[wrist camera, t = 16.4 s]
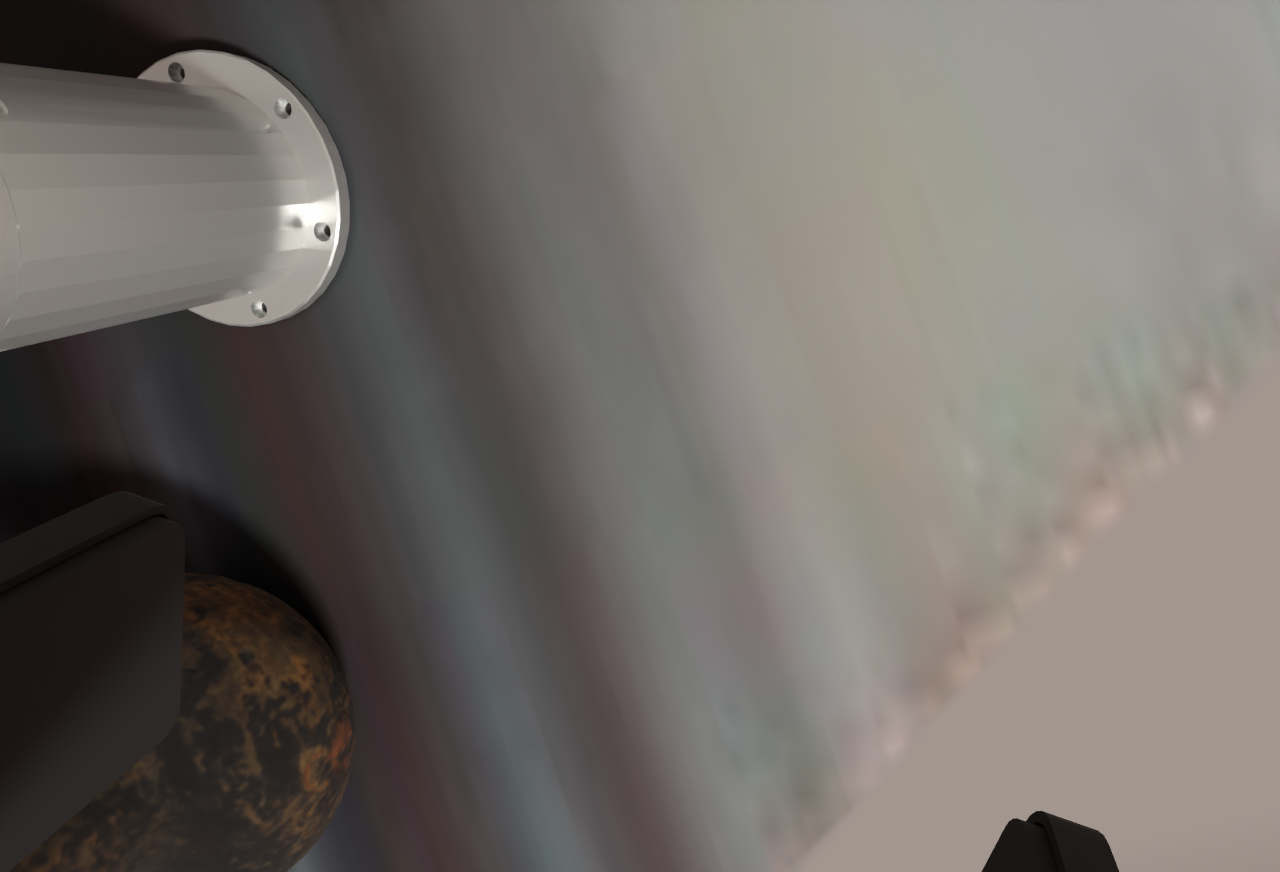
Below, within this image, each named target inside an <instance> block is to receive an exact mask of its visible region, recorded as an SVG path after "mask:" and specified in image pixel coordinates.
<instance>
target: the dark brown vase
mask: <svg viewBox="0 0 1280 872" xmlns="http://www.w3.org/2000/svg"><path fill="white" fill-rule="evenodd" d="M354 721H355V717H354V711H353V708H352V703H351V699H350V694H349V690H348V686H347V683H346V680H345V677H344V675H343V672H342V670H341V668H340V665H339V663H338V661H337V659H336V658H335V655H334V654H333V652H332V651H331V649H330V647H329V646H328V644H327V643H326V642H325V640H324V639H323V638H322V636H321V635H320V634H319V633H318V632H317V630H316V629H315V628H314V627H313V626H312V625H311V624H310V623H309V622H308V621H307V620H306V619H305V618H304V617H303V616H302V615H301V614H299V613H298V612H297V611H296V610H294V609H293V608H292V607H290V606H289V605H287V604H286V603H285V602H283V601H281V600H280V599H279V598H277V597H276V596H274V595H273V594H270V593H268V592H266V591H264V590H262V589H261V588H259V587H255V586H252V585H249V584H247V583H243V582H240V581H237V580H233V579H230V578H225V577H223V576H215V575H208V574H198V573H184V603H183V633H182V663H181V693H180V710H179V715H178V717H177V720H176V722H175V724H174V726H173V728H172V729H171V731H170V732H169V734H168V735H167V736H166V737H165V738H164V739H163V740H162V741H161V742H160V743H159V744H158V745H157V746H156V747H154V748H153V749H152V750H151V751H150V752H149V753H147V754H146V755H145V756H144V757H143V758H142V759H140V760H139V761H138V762H137V763H136V764H134V765H133V766H132V767H131V768H130V769H129V770H127V771H126V772H125V773H124V774H123V775H122V776H120V777H119V778H118V779H117V780H116V781H115V782H113V783H112V784H111V785H110V786H109V787H107V788H106V789H105V790H104V791H103V792H102V793H100V794H99V795H98V796H97V797H96V798H95V799H93V800H92V801H91V802H90V803H89V804H88V805H86V806H85V807H84V808H83V809H82V810H80V811H79V812H78V813H77V814H76V815H75V816H73V817H72V818H71V819H70V820H69V821H68V822H66V823H65V824H64V825H63V826H62V827H60V828H59V829H58V830H57V831H56V832H55V833H53V834H52V835H51V836H50V837H49V838H48V839H46V840H45V841H44V842H43V843H42V844H41V845H39V846H38V847H37V848H36V849H35V850H33V851H32V852H31V853H30V854H29V855H28V856H26V857H25V858H24V859H23V860H22V861H21V862H19V863H18V864H17V865H16V866H15V867H14V868H12V869H11V870H10V871H9V872H286V871H288V870H289V869H290V868H291V867H293V866H294V865H295V864H296V863H297V862H298V861H299V860H300V859H301V858H302V857H303V856H304V855H306V854H307V853H308V851H309V850H310V849H311V848H312V847H313V846H314V844H315V843H316V842H317V841H318V839H319V838H320V837H321V835H322V834H323V833H324V831H325V830H326V829H327V827H328V825H329V824H330V822H331V820H332V819H333V817H334V815H335V813H336V811H337V809H338V807H339V804H340V802H341V800H342V798H343V795H344V792H345V790H346V787H347V784H348V781H349V776H350V772H351V767H352V762H353V754H354V746H355V727H354Z"/></svg>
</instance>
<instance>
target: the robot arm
mask: <svg viewBox="0 0 1280 872" xmlns="http://www.w3.org/2000/svg"><path fill="white" fill-rule="evenodd" d="M291 110H292V111H291ZM349 217H350V201H349V194H348V187H347V180H346V175H345V172H344V169H343V165H342V162H341V159H340V156H339V152H338V149H337V147H336V145H335V143H334V141H333V139H332V137H331V135H330V133H329V131H328V129H327V127H326V125H325V123H324V122H323V121H322V119H321V118H320V116H319V115H318V113H317V112H316V111H315V109H314V108H313V106H312V105H311V103H310V102H309V101H308V100H307V99H306V98H305V97H304V96H303V95H302V94H301V93H300V92H299V91H298V90H297V89H296V88H295V87H294V86H293V85H292V84H291V83H290V82H289V81H288V80H286V79H285V78H283V77H282V76H281V75H279V74H278V73H276V72H275V71H274V70H272V69H271V68H269V67H267V66H265V65H263V64H261V63H258V62H256V61H254V60H252V59H250V58H247V57H244V56H240V55H235V54H231V53H226V52H221V51H210V50H200V49H198V50H192V51H185V52H178V53H175V54H173V55H170V56H168V57H166V58H163V59H161V60H159V61H156V62H155V63H154V64H153V65H151V66H150V67H149V68H147V69H146V70H145V71H143V72H142V73H141V74H140V75H139V76H138V77H137V78H129V77H120V76H111V75H102V74H94V73H85V72H76V71H68V70H59V69H50V68H41V67H33V66H24V65H15V64H7V63H0V352H1V351H5V350H10V349H14V348H18V347H23V346H27V345H32V344H36V343H40V342H45V341H49V340H54V339H58V338H62V337H67V336H71V335H76V334H80V333H84V332H89V331H93V330H97V329H102V328H106V327H111V326H115V325H119V324H124V323H128V322H133V321H137V320H141V319H146V318H150V317H154V316H159V315H163V314H168V313H172V312H176V311H181V310H185V309H188V310H190V311H192V312H194V313H196V314H198V315H200V316H202V317H204V318H206V319H208V320H211V321H215V322H219V323H223V324H226V325H230V326H247V327H252V326H258V325H264V324H270V323H274V322H277V321H280V320H283V319H286V318H289V317H292V316H293V315H295V314H297V313H299V312H300V311H302V310H304V309H306V308H308V307H309V306H310V305H311V304H312V303H313V302H314V301H315V300H316V299H317V298H318V297H320V296H321V295H322V294H323V293H324V291H325V290H326V288H327V287H328V285H329V284H330V282H331V281H332V279H333V278H334V277H335V275H336V273H337V270H338V268H339V265H340V263H341V260H342V258H343V256H344V253H345V248H346V243H347V238H348V233H349ZM330 230H331V233H330ZM185 543H186V536H185V530H184V528H183V526H182V525H180V524H179V523H178V518H177V515H176V513H175V511H174V509H172V508H171V507H169V506H167V505H165V504H162V503H159V502H156V501H153V500H150V499H147V498H145V497H142V496H139V495H136V494H133V493H130V492H127V491H117V492H113V493H110V494H108V495H105V496H103V497H101V498H99V499H97V500H94V501H92V502H90V503H88V504H86V505H83V506H81V507H79V508H77V509H75V510H72V511H70V512H68V513H66V514H64V515H61V516H59V517H57V518H55V519H53V520H50V521H48V522H46V523H44V524H42V525H39V526H37V527H35V528H33V529H31V530H28V531H26V532H24V533H22V534H20V535H17V536H15V537H13V538H11V539H9V540H6V541H4V542H2V543H0V872H9V871H10V870H11V869H12V868H14V867H15V866H16V865H17V864H18V863H19V862H21V861H22V860H23V859H24V858H25V857H26V856H28V855H29V854H30V853H31V852H32V851H33V850H35V849H36V848H37V847H38V846H39V845H41V844H42V843H43V842H44V841H45V840H46V839H48V838H49V837H50V836H51V835H52V834H53V833H55V832H56V831H57V830H58V829H59V828H60V827H62V826H63V825H64V824H65V823H66V822H68V821H69V820H70V819H71V818H72V817H73V816H75V815H76V814H77V813H78V812H79V811H80V810H82V809H83V808H84V807H85V806H86V805H88V804H89V803H90V802H91V801H92V800H93V799H95V798H96V797H97V796H98V795H99V794H100V793H102V792H103V791H104V790H105V789H106V788H107V787H109V786H110V785H111V784H112V783H113V782H115V781H116V780H117V779H118V778H119V777H120V776H122V775H123V774H124V773H125V772H126V771H127V770H129V769H130V768H131V767H132V766H133V765H134V764H136V763H137V762H138V761H139V760H140V759H142V758H143V757H144V756H145V755H146V754H147V753H149V752H150V751H151V750H152V749H153V748H154V747H156V746H157V745H158V744H159V743H160V742H161V741H162V740H163V739H164V738H165V737H166V736H167V735H168V734H169V732H170V731H171V729H172V728H173V726H174V724H175V722H176V720H177V717H178V715H179V710H180V693H181V663H182V633H183V603H184V573H185ZM982 872H1119V870H1118V867H1117V865H1116V862H1115V859H1114V857H1113V854H1112V852H1111V849H1110V846H1109V844H1108V842H1107V840H1106V839H1105V837H1104V835H1103V834H1101V833H1100V832H1099V831H1097V830H1094V829H1092V828H1089V827H1086V826H1083V825H1080V824H1077V823H1074V822H1072V821H1069V820H1066V819H1063V818H1060V817H1057V816H1054V815H1052V814H1049V813H1046V812H1043V811H1036V812H1035V813H1033V814H1032V815H1030V817H1029V818H1028V819H1027V821H1022V820H1019V819H1012V820H1011V821H1009V822H1008V824H1007V826H1006V827H1005V829H1004V831H1003V832H1002V834H1001V836H1000V838H999V840H998V842H997V844H996V846H995V848H994V849H993V851H992V853H991V855H990V857H989V859H988V861H987V863H986V865H985V867H984V868H983V870H982Z"/></svg>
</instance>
